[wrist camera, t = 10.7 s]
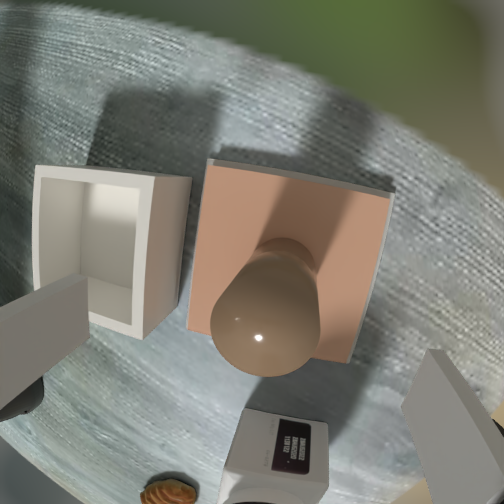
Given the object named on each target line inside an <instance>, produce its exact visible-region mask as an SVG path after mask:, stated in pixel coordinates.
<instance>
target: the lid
mask: <svg viewBox="0 0 504 504" xmlns="http://www.w3.org/2000/svg"><path fill="white" fill-rule="evenodd" d="M389 202H390V199H388V198H383V197H379V196H375V195H371V194H366V193H362V192H358V191H353V190H348V189H344V188H339V187H334V186H330V185H325V184H320V183H315V182H310V181H304V180H299V179H294V178H288V177H283V176H277V175H271V174H265V173H259V172H253V171H246V170H240V169H233V168H226V167H219V166H212V165H208V168H207V174H206V180H205V187H204V194H203V201H202V208H201V215H200V222H199V230H198V238H197V246H196V254H195V262H194V271H193V280H192V289H191V299H190V308H189V319H188V330H191V331H194V332H198V333H202V334H206V335H210V336H212V339H213V341H214V344H215V346H216V348H217V349H218V351H219V352H220V354H221V355H222V356H223V357H224V358H225V359H226V360H227V361H228V362H229V363H230V364H231V365H233V366H234V367H236V368H237V369H239V370H241V371H243V372H246V373H248V374H252V375H256V376H262V377H275V376H281V375H285V374H288V373H290V372H293V371H295V370H297V369H298V368H300V367H301V366H303V365H304V364H305V363H306V362H307V361H308V360H309V359H310V358H316V359H322V360H327V361H333V362H339V363H346V362H347V359H348V356H349V353H350V350H351V347H352V344H353V341H354V338H355V335H356V332H357V329H358V325H359V322H360V319H361V316H362V312H363V309H364V306H365V302H366V299H367V295H368V292H369V288H370V284H371V281H372V277H373V273H374V269H375V265H376V261H377V257H378V253H379V249H380V245H381V240H382V236H383V231H384V227H385V222H386V217H387V213H388V208H389Z"/></svg>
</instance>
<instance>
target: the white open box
mask: <svg viewBox="0 0 504 504" xmlns="http://www.w3.org/2000/svg"><path fill="white" fill-rule="evenodd" d="M192 178H193V177H186V176H179V175H171V174H164V173H156V172H147V171H139V170H130V169H120V168H111V167H100V166H89V165H36V167H35V177H34V190H33V209H32V262H33V281H34V291H35V290H37V289H40V288H42V287H44V286H46V285H48V284H50V283H53V282H55V281H57V280H59V279H61V278H64V277H66V276H68V275H70V274H72V273H75V274H78V275H82V276H85V277H88V314H89V321H90V322H92V323H95V324H98V325H100V326H103V327H106V328H108V329H111V330H114V331H117V332H120V333H122V334H125V335H128V336H131V337H134V338H137V339H140V340H143V339H144V338H145V337H146V336H148V335H149V334H150V333H151V332H152V331H153V330H154V329H155V328H156V327H157V326H158V325H159V324H160V323H161V322H162V321H163V320H164V319H165V318H166V317H167V316H168V315H169V314H170V313H171V312H172V311H173V310H174V309H175V308H176V307H177V306H178V295H179V284H180V274H181V264H182V255H183V246H184V238H185V230H186V222H187V214H188V206H189V199H190V192H191V185H192Z"/></svg>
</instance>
